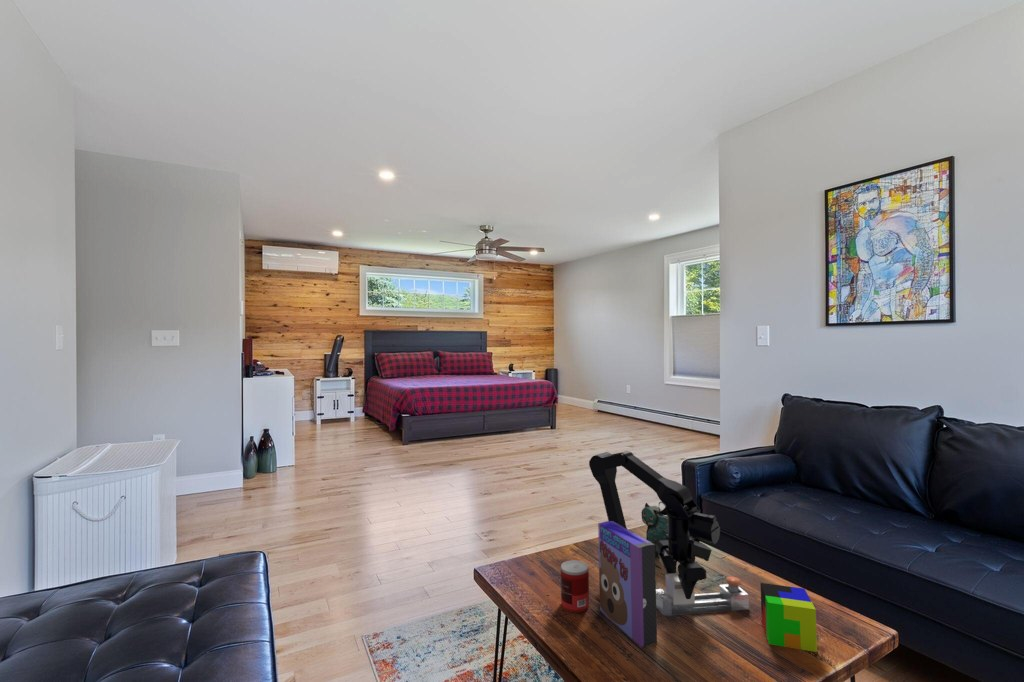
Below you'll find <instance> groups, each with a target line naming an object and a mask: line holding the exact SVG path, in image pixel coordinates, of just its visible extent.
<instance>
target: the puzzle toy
mask: <svg viewBox="0 0 1024 682" xmlns="http://www.w3.org/2000/svg"><path fill="white" fill-rule="evenodd" d="M760 608H761V609H760V610H761V613H760V614H761V616H760V618H761V623H762V626H763V630H764V632H765V637H766V638H767V642H768V645H773V646H776V647H777V646H779V647H784V648H791V649H796V650H801V649H802V650H801V651H809V652H814V653H818V637H817V633H818V632H817V609H816V608H815V605H814V603H813V602H812V599H811V598H810V596H809V595H808V593H807V591H806V589H805V588H804V587H803V588H802V587H794V586H788V585H780V584H774V583H773V584H772V583H766V582H765V583H764V582H760Z"/></svg>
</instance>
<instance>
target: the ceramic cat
mask: <svg viewBox="0 0 1024 682" xmlns="http://www.w3.org/2000/svg"><path fill="white" fill-rule="evenodd" d="M660 504H662V505H663V506H664V507H665V506H666V505H665V504H664V503H663V502H662V501H659V502H658V505H660ZM660 511H662V509H661V508H660V506H656V505H652V506H651V505H649V503H647V502H646V503H645V504H644V507H643V508H642V509H641V521H642V523H644V524H645V525H646V526H647V528H646V532H645V533H646V538H645V539H646V540H648V541H649V542H651V543H653V544H655V559H657V558H660V557H659V555H658V552H657V551H656V543H657V542H658V541H662V540H668V539H666V538H665V534H668V516H666V515H663V514H660ZM690 537H691V536H690ZM689 561H690V562H696V558H695V559H689Z"/></svg>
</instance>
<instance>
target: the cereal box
mask: <svg viewBox="0 0 1024 682" xmlns="http://www.w3.org/2000/svg"><path fill="white" fill-rule="evenodd" d="M597 526H598V528H597V531H598V534H597V535H598V536H597V537H598V574H599V575H598V576H599V577H598V578H599V579H598V581H599V582H598V583H599V584H598V585H599V586H598V587H599V611H600V612H601V614H603V616H605V617H606V618H607V619H608V620H609V621H611V622H612V623H613V624H614V625H615V626H616V627H617V628H618V629H620V630H621V631H622V632H623V633H624V634H625V635H626V636H627V637H628V638H629V639H631V640H632V641H633V642H634V643H635V644H636V645H637V646H638V647H640V648H646V647H648V646H652V645H654V644H657V643H658V629H657V628H658V624H657V619H658V618H657V607H656V589H657V587H656V586H657V580H656V578H657V576H656V558H655V544H653V543H651V542H649V541H648V540H646V538H645V537H642V536H641V535H639V534H637V533H635V532H633V531H632V530H630V529H628V528H627V529H626V528H624V527H623V526H621V525H619V524H617V523H615V522H614V521H608V520H607V521H606V520H605V521H603V522H599V523H598V524H597Z"/></svg>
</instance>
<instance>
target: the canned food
mask: <svg viewBox="0 0 1024 682" xmlns="http://www.w3.org/2000/svg"><path fill="white" fill-rule="evenodd" d="M589 574H590V573H589V565H588V564H587V563H586V562H584V561H581V560H577V559H573V560H567V561H564V562H562V563H561V565H560V595H561V601H560V602H561V606H562V608H563V610H565V609H566V610H568V611H567V612H569V611H571V612H570V613H572V612H577V613H576V614H578V612H580V613H583V612H586V610H588V608H589V606H590V582H589V581H590V580H589V576H590V575H589ZM566 610H565V611H566Z"/></svg>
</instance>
